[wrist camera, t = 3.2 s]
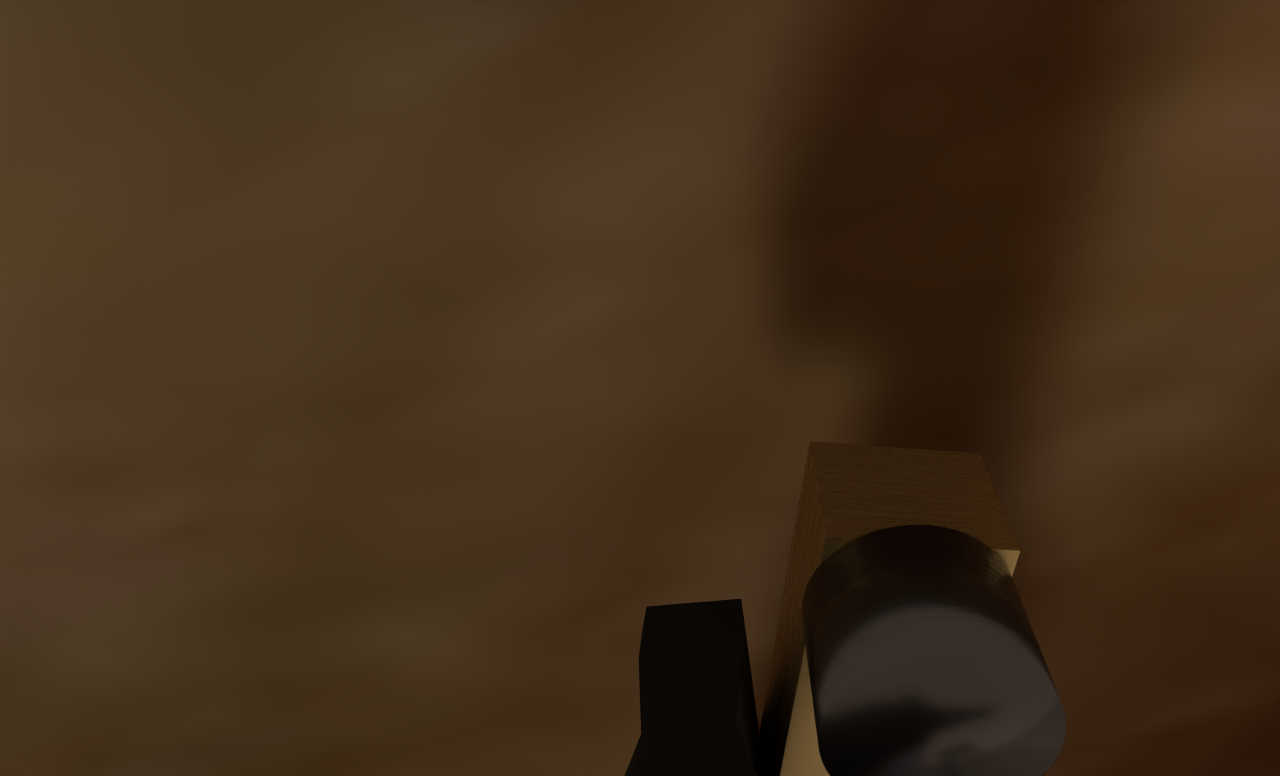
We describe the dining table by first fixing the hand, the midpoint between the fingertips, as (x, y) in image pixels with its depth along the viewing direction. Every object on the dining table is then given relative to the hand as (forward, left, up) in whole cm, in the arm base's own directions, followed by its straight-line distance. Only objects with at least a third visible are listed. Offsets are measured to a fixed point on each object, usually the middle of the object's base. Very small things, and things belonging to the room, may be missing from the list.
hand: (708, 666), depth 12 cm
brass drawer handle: (-3, -1, 0) cm, 3 cm away
